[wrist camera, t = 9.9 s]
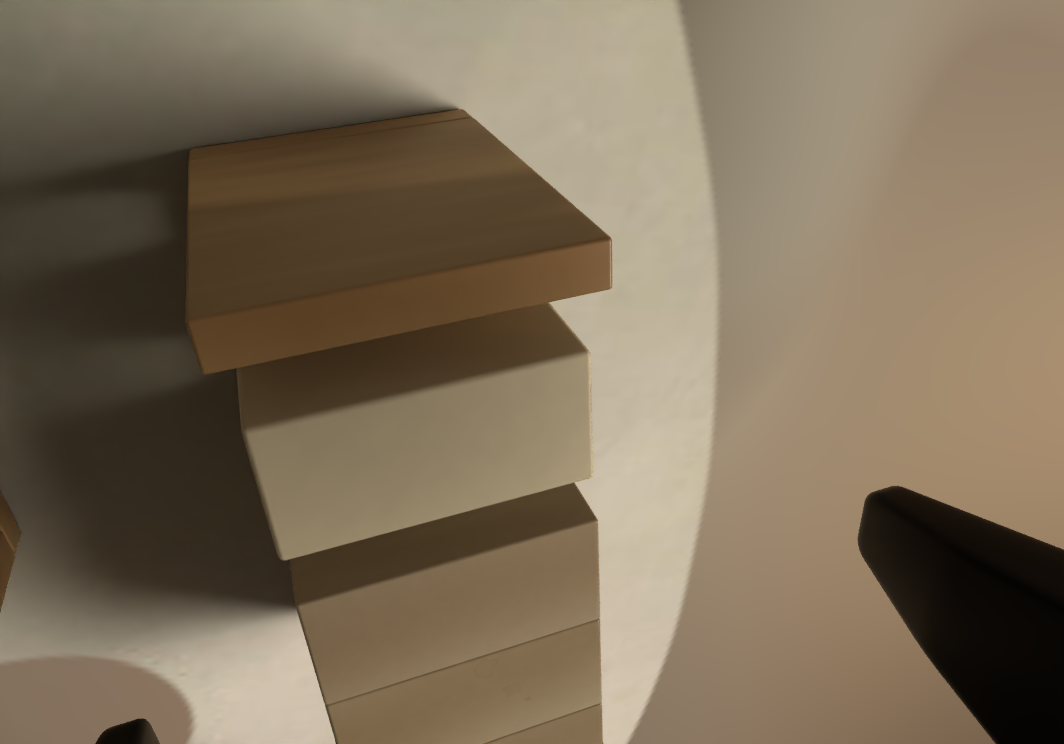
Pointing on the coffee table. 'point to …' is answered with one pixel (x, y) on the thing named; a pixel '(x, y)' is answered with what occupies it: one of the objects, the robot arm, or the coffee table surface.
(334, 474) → the cream book
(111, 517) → the coffee table surface
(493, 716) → the brown rack
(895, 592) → the robot arm
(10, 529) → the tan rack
